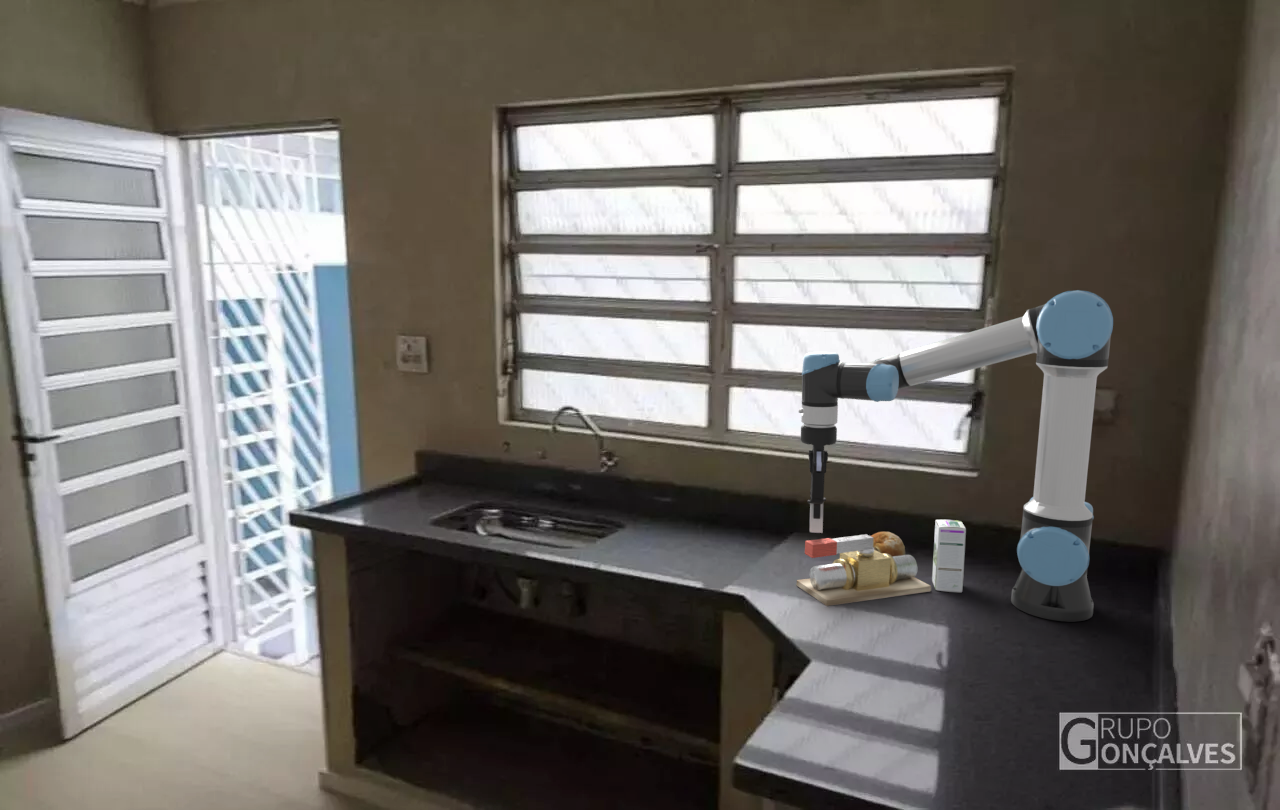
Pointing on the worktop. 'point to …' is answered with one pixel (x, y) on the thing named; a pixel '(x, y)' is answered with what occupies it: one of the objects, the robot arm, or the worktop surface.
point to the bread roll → (888, 544)
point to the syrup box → (949, 555)
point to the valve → (863, 571)
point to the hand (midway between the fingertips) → (816, 531)
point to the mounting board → (864, 591)
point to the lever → (840, 546)
